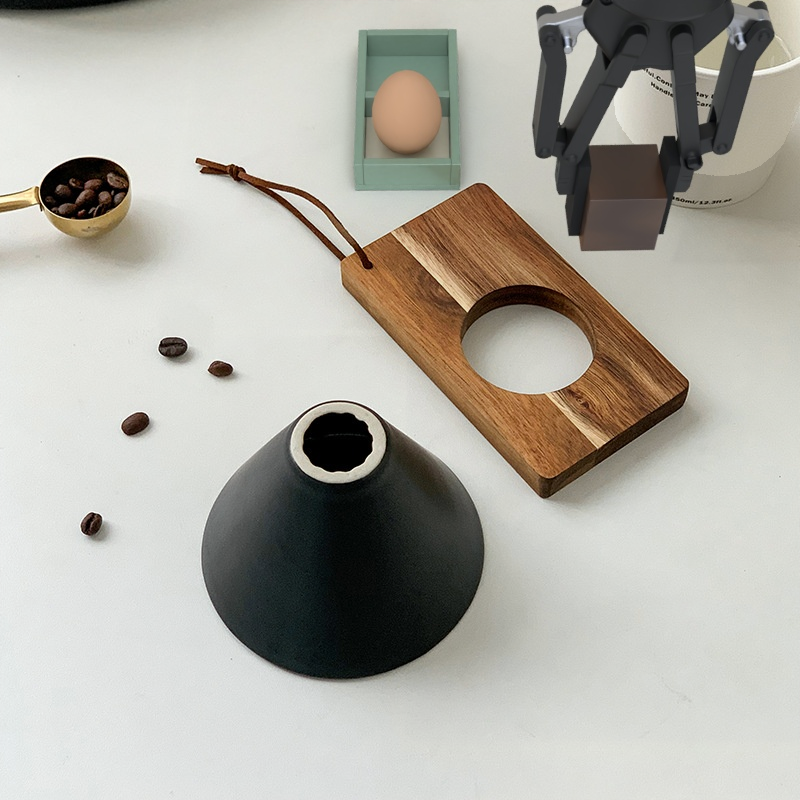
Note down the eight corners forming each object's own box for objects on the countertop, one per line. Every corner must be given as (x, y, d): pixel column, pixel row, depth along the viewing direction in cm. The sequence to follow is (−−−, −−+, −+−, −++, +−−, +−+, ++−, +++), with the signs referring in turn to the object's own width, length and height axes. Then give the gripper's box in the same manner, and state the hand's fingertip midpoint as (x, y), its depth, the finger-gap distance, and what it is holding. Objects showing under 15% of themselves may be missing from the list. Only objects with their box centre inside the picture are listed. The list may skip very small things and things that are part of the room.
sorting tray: (455, 55, 113) (456, 28, 111) (459, 189, 104) (460, 164, 101) (360, 55, 114) (358, 29, 111) (355, 190, 104) (353, 164, 101)
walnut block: (645, 195, 83) (657, 143, 79) (654, 250, 81) (667, 199, 77) (573, 197, 83) (582, 144, 79) (580, 251, 81) (590, 200, 76)
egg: (451, 133, 106) (453, 63, 100) (424, 178, 103) (425, 109, 97) (390, 114, 108) (388, 44, 101) (361, 158, 105) (358, 89, 98)
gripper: (508, -33, 60) (485, 265, 80) (864, -39, 60) (754, 259, 80) (499, -121, 65) (479, 182, 84) (832, -127, 65) (735, 177, 84)
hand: (613, 219), depth 82 cm, fingers closed on walnut block, 5 cm apart
